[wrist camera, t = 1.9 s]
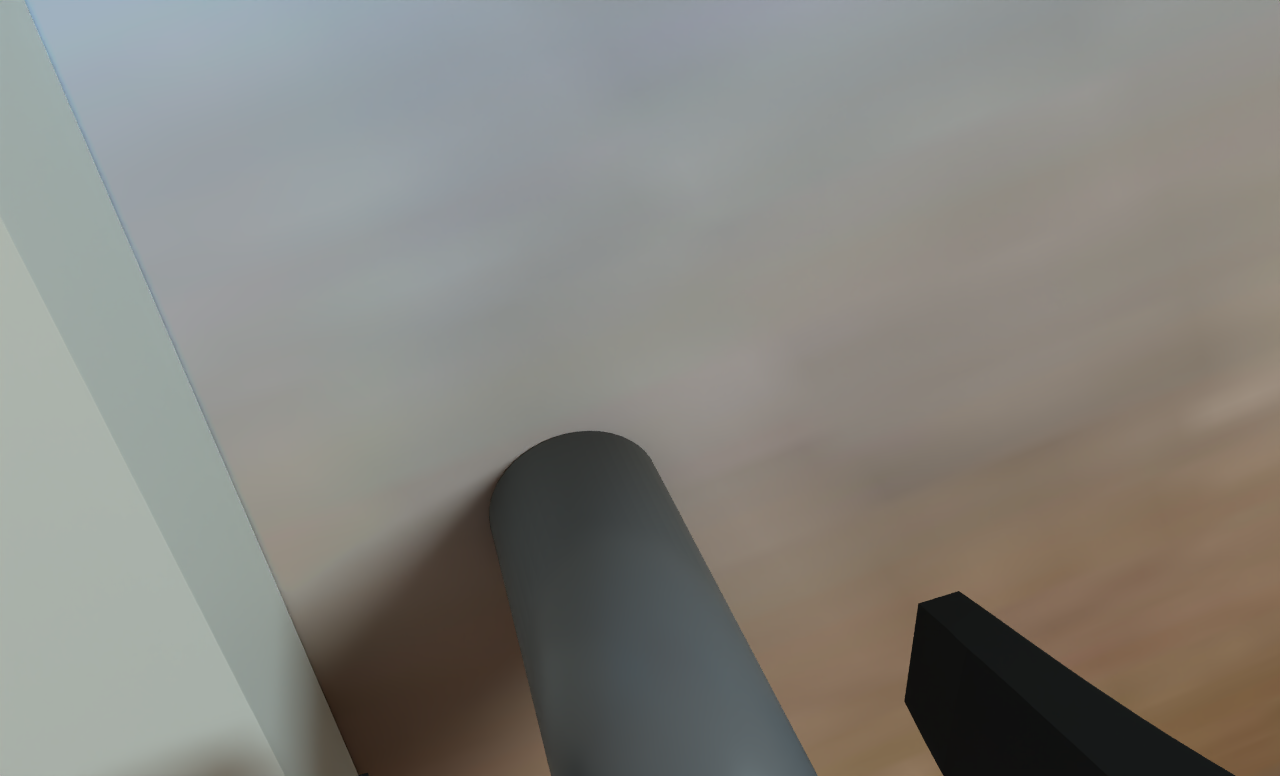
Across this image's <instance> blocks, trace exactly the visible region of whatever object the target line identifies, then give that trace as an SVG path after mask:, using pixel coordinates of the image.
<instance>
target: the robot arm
mask: <svg viewBox="0 0 1280 776" xmlns="http://www.w3.org/2000/svg"><path fill="white" fill-rule="evenodd" d="M905 703H906V705H907V707H908V709H909V711H910V713H911V715H912V717H913V719H914V721H915V723H916V725H917V727H918V729H919V731H920V733H921V735H922V737H923V739H924V741H925V743H926V744H927V746H928V748H929V750H930V752H931V754H932V756H933V757H934V759H935V761H936V763H937V765H938V767H939V768H940V770H941V772H942V774H943V775H944V776H1235V775H1233V774H1232V773H1230V772H1228V771H1227V770H1225V769H1223V768H1222V767H1220V766H1218V765H1217V764H1215V763H1213V762H1212V761H1210V760H1208V759H1207V758H1205V757H1203V756H1202V755H1200V754H1198V753H1197V752H1195V751H1194V750H1192V749H1190V748H1189V747H1187V746H1185V745H1184V744H1182V743H1181V742H1179V741H1177V740H1176V739H1174V738H1172V737H1171V736H1169V735H1168V734H1166V733H1164V732H1163V731H1161V730H1160V729H1158V728H1157V727H1155V726H1154V725H1152V724H1150V723H1149V722H1147V721H1146V720H1144V719H1143V718H1141V717H1140V716H1138V715H1137V714H1135V713H1134V712H1132V711H1131V710H1129V709H1128V708H1126V707H1125V706H1123V705H1122V704H1120V703H1119V702H1117V701H1116V700H1114V699H1113V698H1111V697H1110V696H1108V695H1107V694H1105V693H1104V692H1102V691H1101V690H1099V689H1098V688H1096V687H1095V686H1093V685H1092V684H1090V683H1089V682H1087V681H1086V680H1084V679H1083V678H1081V677H1080V676H1078V675H1077V674H1076V673H1074V672H1073V671H1071V670H1070V669H1068V668H1067V667H1065V666H1064V665H1063V664H1061V663H1060V662H1058V661H1057V660H1055V659H1054V658H1053V657H1051V656H1050V655H1048V654H1047V653H1045V652H1044V651H1043V650H1041V649H1040V648H1038V647H1037V646H1036V645H1034V644H1033V643H1031V642H1030V641H1029V640H1027V639H1026V638H1024V637H1023V636H1021V635H1020V634H1019V633H1017V632H1016V631H1014V630H1013V629H1012V628H1010V627H1009V626H1007V625H1006V624H1005V623H1003V622H1002V621H1001V620H999V619H998V618H996V617H995V616H993V615H992V614H991V613H989V612H988V611H986V610H985V609H984V608H982V607H981V606H979V605H978V604H977V603H975V602H974V601H972V600H971V599H969V598H968V597H967V596H965V595H964V594H962V593H961V592H959V591H958V592H955V593H951V594H948V595H945V596H942V597H938V598H935V599H932V600H929V601H925V602H922V603H919V604H918V610H917V617H916V624H915V631H914V638H913V645H912V652H911V659H910V666H909V673H908V680H907V687H906V694H905ZM359 776H369V775H368V773H365V774H362V775H359Z"/></svg>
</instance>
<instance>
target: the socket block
mask: <svg viewBox="0 0 1280 776" xmlns="http://www.w3.org/2000/svg"><path fill="white" fill-rule="evenodd" d="M0 776H358V773H357V771H356V769H355V766H354V764H353V762H352V759H351V757H350V755H349V752H348V750H347V748H346V745H345V743H344V741H343V738H342V736H341V734H340V731H339V729H338V727H337V724H336V722H335V720H334V718H333V715H332V713H331V711H330V708H329V706H328V704H327V701H326V699H325V697H324V694H323V692H322V690H321V687H320V685H319V683H318V680H317V678H316V676H315V673H314V671H313V669H312V666H311V664H310V662H309V660H308V657H307V655H306V653H305V650H304V648H303V646H302V643H301V641H300V639H299V636H298V634H297V632H296V629H295V627H294V625H293V622H292V620H291V618H290V615H289V613H288V611H287V609H286V606H285V604H284V602H283V599H282V597H281V595H280V592H279V590H278V588H277V585H276V583H275V581H274V578H273V576H272V574H271V571H270V569H269V567H268V564H267V562H266V560H265V557H264V555H263V553H262V551H261V548H260V546H259V544H258V541H257V539H256V537H255V534H254V532H253V530H252V527H251V525H250V523H249V520H248V518H247V516H246V513H245V511H244V509H243V506H242V504H241V502H240V499H239V497H238V495H237V493H236V490H235V488H234V486H233V483H232V481H231V479H230V476H229V474H228V472H227V469H226V467H225V465H224V462H223V460H222V458H221V455H220V453H219V451H218V448H217V446H216V444H215V441H214V439H213V437H212V435H211V432H210V430H209V428H208V425H207V423H206V421H205V418H204V416H203V414H202V411H201V409H200V407H199V404H198V402H197V400H196V397H195V395H194V393H193V390H192V388H191V386H190V384H189V381H188V379H187V377H186V374H185V372H184V370H183V367H182V365H181V363H180V360H179V358H178V356H177V353H176V351H175V349H174V346H173V344H172V342H171V339H170V337H169V335H168V332H167V330H166V328H165V326H164V323H163V321H162V319H161V316H160V314H159V312H158V309H157V307H156V305H155V302H154V300H153V298H152V295H151V293H150V291H149V288H148V286H147V284H146V281H145V279H144V277H143V274H142V272H141V270H140V268H139V265H138V263H137V261H136V258H135V256H134V254H133V251H132V249H131V247H130V244H129V242H128V240H127V237H126V235H125V233H124V230H123V228H122V226H121V223H120V221H119V219H118V217H117V214H116V212H115V210H114V207H113V205H112V203H111V200H110V198H109V196H108V193H107V191H106V189H105V186H104V184H103V182H102V179H101V177H100V175H99V172H98V170H97V168H96V165H95V163H94V161H93V159H92V156H91V154H90V152H89V149H88V147H87V145H86V142H85V140H84V138H83V135H82V133H81V131H80V128H79V126H78V124H77V121H76V119H75V117H74V114H73V112H72V110H71V107H70V105H69V103H68V101H67V98H66V96H65V94H64V91H63V89H62V87H61V84H60V82H59V80H58V77H57V75H56V73H55V70H54V68H53V66H52V63H51V61H50V59H49V56H48V54H47V52H46V49H45V47H44V45H43V43H42V40H41V38H40V36H39V33H38V31H37V29H36V26H35V24H34V22H33V19H32V17H31V15H30V12H29V10H28V8H27V5H26V3H25V1H24V0H0Z"/></svg>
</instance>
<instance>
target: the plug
mask: <svg viewBox="0 0 1280 776" xmlns="http://www.w3.org/2000/svg"><path fill="white" fill-rule="evenodd" d="M489 520H490V527H491V531H492V535H493V539H494V543H495V547H496V551H497V555H498V559H499V564H500V568H501V572H502V576H503V580H504V584H505V588H506V592H507V596H508V601H509V605H510V609H511V613H512V617H513V621H514V625H515V629H516V633H517V638H518V642H519V646H520V650H521V654H522V658H523V662H524V666H525V670H526V675H527V679H528V683H529V687H530V691H531V695H532V699H533V703H534V707H535V712H536V716H537V720H538V724H539V728H540V732H541V736H542V740H543V744H544V748H545V753H546V757H547V761H548V765H549V769H550V773H551V776H817V774H816V772H815V770H814V768H813V766H812V764H811V762H810V760H809V758H808V757H807V755H806V753H805V751H804V749H803V747H802V745H801V743H800V741H799V739H798V738H797V736H796V734H795V732H794V730H793V728H792V726H791V724H790V722H789V720H788V719H787V717H786V715H785V713H784V711H783V709H782V707H781V705H780V703H779V701H778V700H777V698H776V696H775V694H774V692H773V690H772V688H771V686H770V684H769V682H768V681H767V679H766V677H765V675H764V673H763V671H762V669H761V667H760V665H759V663H758V662H757V660H756V658H755V656H754V654H753V652H752V650H751V648H750V646H749V644H748V642H747V641H746V639H745V637H744V635H743V633H742V631H741V629H740V627H739V625H738V623H737V622H736V620H735V618H734V616H733V614H732V612H731V610H730V608H729V606H728V604H727V603H726V601H725V599H724V597H723V595H722V593H721V591H720V589H719V587H718V585H717V584H716V582H715V580H714V578H713V576H712V574H711V572H710V570H709V568H708V566H707V565H706V563H705V561H704V559H703V557H702V555H701V553H700V551H699V549H698V547H697V546H696V544H695V542H694V540H693V538H692V536H691V534H690V532H689V530H688V528H687V526H686V525H685V523H684V521H683V519H682V517H681V515H680V513H679V511H678V509H677V507H676V506H675V504H674V502H673V500H672V498H671V496H670V494H669V492H668V490H667V488H666V487H665V485H664V483H663V481H662V479H661V477H660V475H659V473H658V471H657V469H656V468H655V466H654V464H653V462H652V460H651V459H650V457H649V456H648V455H647V454H646V452H645V451H644V450H643V449H642V448H640V447H639V446H638V445H637V444H635V443H634V442H632V441H630V440H628V439H626V438H624V437H622V436H619V435H615V434H612V433H607V432H600V431H583V432H574V433H569V434H564V435H561V436H557V437H554V438H552V439H549V440H547V441H544V442H542V443H540V444H539V445H537V446H535V447H533V448H531V449H530V450H529V451H527V452H526V453H524V454H523V455H521V456H520V457H519V458H518V459H517V460H516V461H515V462H513V464H512V465H511V466H510V467H509V468H508V469H507V470H506V471H505V473H504V474H503V476H502V477H501V478H500V480H499V482H498V484H497V486H496V487H495V489H494V492H493V495H492V498H491V502H490V508H489Z"/></svg>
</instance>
